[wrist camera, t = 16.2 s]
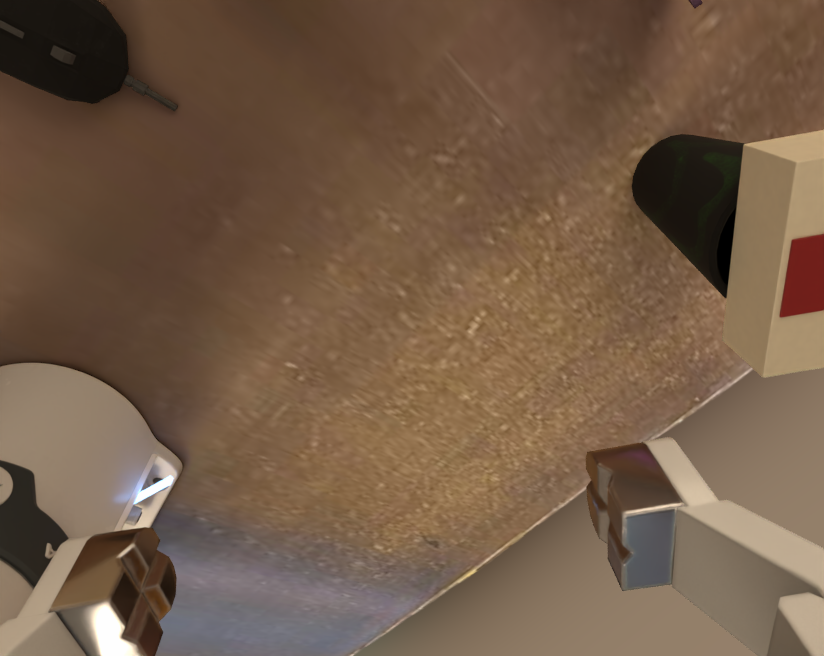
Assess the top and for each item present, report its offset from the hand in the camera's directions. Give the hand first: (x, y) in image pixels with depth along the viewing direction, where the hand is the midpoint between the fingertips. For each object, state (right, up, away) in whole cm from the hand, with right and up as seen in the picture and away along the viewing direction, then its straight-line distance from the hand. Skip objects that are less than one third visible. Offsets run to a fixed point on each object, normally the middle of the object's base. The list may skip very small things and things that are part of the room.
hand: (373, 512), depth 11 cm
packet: (+19, +8, +17) cm, 26 cm away
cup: (+18, +13, +27) cm, 35 cm away
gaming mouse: (-19, +20, +21) cm, 35 cm away
